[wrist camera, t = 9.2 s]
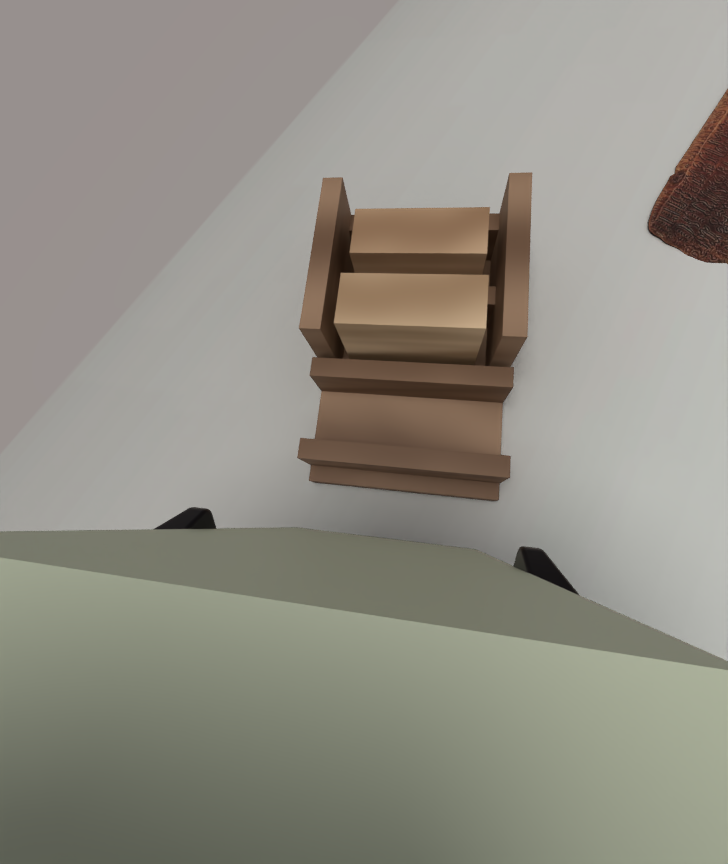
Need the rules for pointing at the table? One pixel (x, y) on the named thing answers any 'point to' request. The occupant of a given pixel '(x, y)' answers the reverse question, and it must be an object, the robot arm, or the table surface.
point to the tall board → (340, 708)
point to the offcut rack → (415, 373)
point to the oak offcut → (412, 317)
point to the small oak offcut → (420, 240)
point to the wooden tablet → (698, 195)
